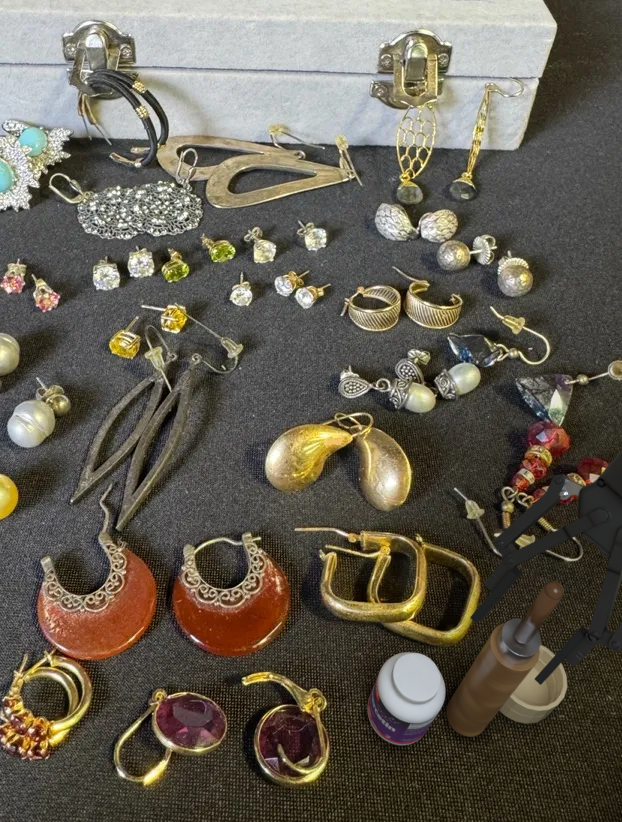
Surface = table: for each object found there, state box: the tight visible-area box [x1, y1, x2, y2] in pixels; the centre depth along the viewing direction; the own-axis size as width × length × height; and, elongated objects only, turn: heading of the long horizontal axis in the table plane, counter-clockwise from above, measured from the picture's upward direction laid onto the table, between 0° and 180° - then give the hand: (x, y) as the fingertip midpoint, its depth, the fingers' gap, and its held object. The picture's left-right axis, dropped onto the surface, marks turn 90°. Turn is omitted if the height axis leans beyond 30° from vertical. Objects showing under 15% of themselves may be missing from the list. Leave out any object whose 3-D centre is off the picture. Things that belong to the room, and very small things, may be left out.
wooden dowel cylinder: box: [445, 622, 540, 738], centre depth 95 cm, size 5×5×24 cm
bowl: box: [498, 644, 568, 725], centre depth 104 cm, size 9×9×6 cm
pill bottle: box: [366, 651, 446, 746], centre depth 99 cm, size 8×8×14 cm
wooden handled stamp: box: [496, 580, 565, 665], centre depth 80 cm, size 4×4×15 cm
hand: (508, 647), depth 80 cm, fingers open, 7 cm apart
